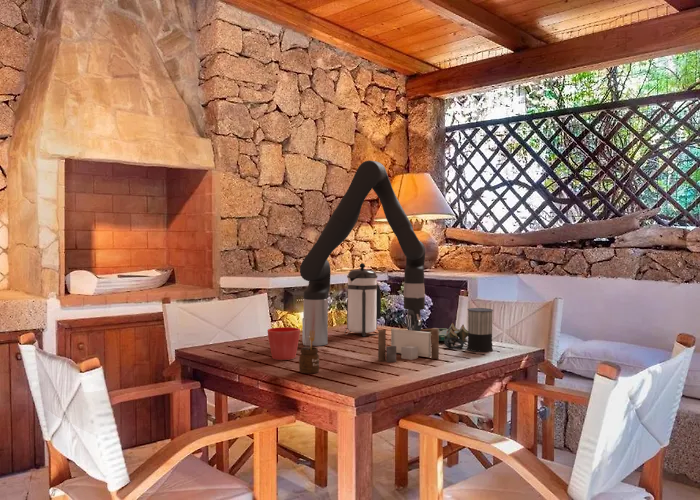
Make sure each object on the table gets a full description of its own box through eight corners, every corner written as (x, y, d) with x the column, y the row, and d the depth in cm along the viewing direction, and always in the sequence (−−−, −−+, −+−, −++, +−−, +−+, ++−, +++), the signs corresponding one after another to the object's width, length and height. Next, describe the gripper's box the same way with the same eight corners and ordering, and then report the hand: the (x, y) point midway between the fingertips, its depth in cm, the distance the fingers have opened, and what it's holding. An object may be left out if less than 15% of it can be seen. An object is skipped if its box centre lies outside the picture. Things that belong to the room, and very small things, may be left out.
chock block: (411, 360, 201) (411, 348, 201) (401, 358, 203) (401, 346, 203) (417, 358, 204) (417, 346, 204) (407, 356, 207) (407, 345, 206)
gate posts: (380, 362, 196) (380, 331, 196) (377, 359, 200) (377, 329, 200) (441, 359, 201) (441, 329, 201) (437, 357, 205) (437, 327, 205)
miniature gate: (398, 325, 261) (469, 322, 255) (399, 337, 261) (470, 335, 255) (390, 334, 234) (469, 331, 228) (391, 348, 234) (470, 345, 228)
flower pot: (263, 356, 206) (263, 327, 206) (294, 354, 210) (294, 326, 210) (272, 362, 196) (272, 332, 196) (304, 359, 200) (304, 330, 200)
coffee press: (383, 337, 248) (383, 263, 248) (344, 337, 248) (344, 263, 247) (380, 330, 265) (380, 262, 265) (344, 330, 265) (344, 262, 265)
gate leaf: (430, 356, 205) (431, 332, 205) (428, 357, 204) (428, 333, 204) (393, 351, 214) (393, 328, 214) (391, 352, 213) (391, 329, 213)
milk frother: (498, 351, 217) (498, 310, 217) (458, 353, 212) (458, 311, 212) (478, 345, 230) (478, 306, 230) (440, 347, 226) (440, 307, 225)
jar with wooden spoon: (296, 373, 179) (296, 332, 179) (303, 369, 186) (303, 330, 185) (315, 374, 178) (315, 333, 178) (321, 370, 184) (321, 330, 184)
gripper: (398, 294, 222) (398, 341, 222) (410, 297, 209) (409, 347, 209) (417, 294, 224) (417, 340, 224) (430, 297, 211) (430, 347, 211)
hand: (413, 344), depth 217 cm, fingers closed
